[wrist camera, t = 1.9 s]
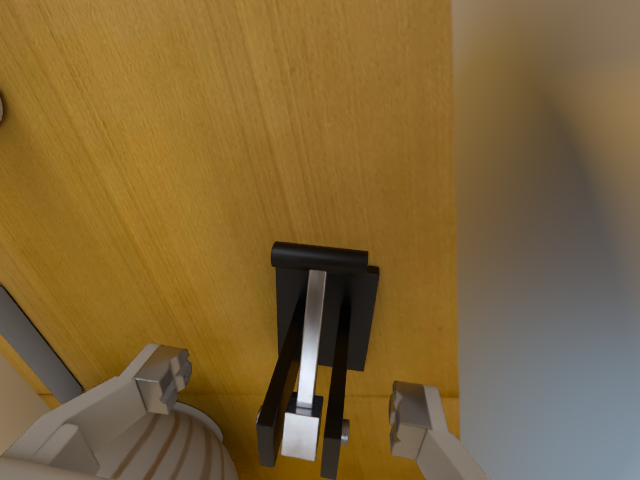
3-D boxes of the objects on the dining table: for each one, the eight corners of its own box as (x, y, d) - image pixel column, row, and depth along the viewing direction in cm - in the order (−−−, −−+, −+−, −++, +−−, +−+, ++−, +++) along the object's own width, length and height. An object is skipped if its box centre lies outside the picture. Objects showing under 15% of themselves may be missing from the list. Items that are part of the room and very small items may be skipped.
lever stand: (279, 255, 27) (214, 376, 16) (379, 266, 26) (387, 404, 15) (281, 349, 32) (235, 488, 21) (363, 361, 32) (361, 514, 20)
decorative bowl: (245, 363, 34) (190, 487, 24) (288, 485, 46) (264, 605, 35) (58, 360, 40) (-56, 460, 29) (140, 470, 51) (80, 571, 41)
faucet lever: (280, 240, 20) (270, 242, 18) (367, 249, 20) (369, 252, 17) (262, 424, 21) (251, 450, 19) (346, 439, 20) (345, 467, 18)
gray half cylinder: (63, 391, 43) (51, 403, 42) (-30, 281, 35) (-48, 290, 33) (86, 392, 42) (75, 403, 41) (-3, 278, 34) (-21, 287, 32)
